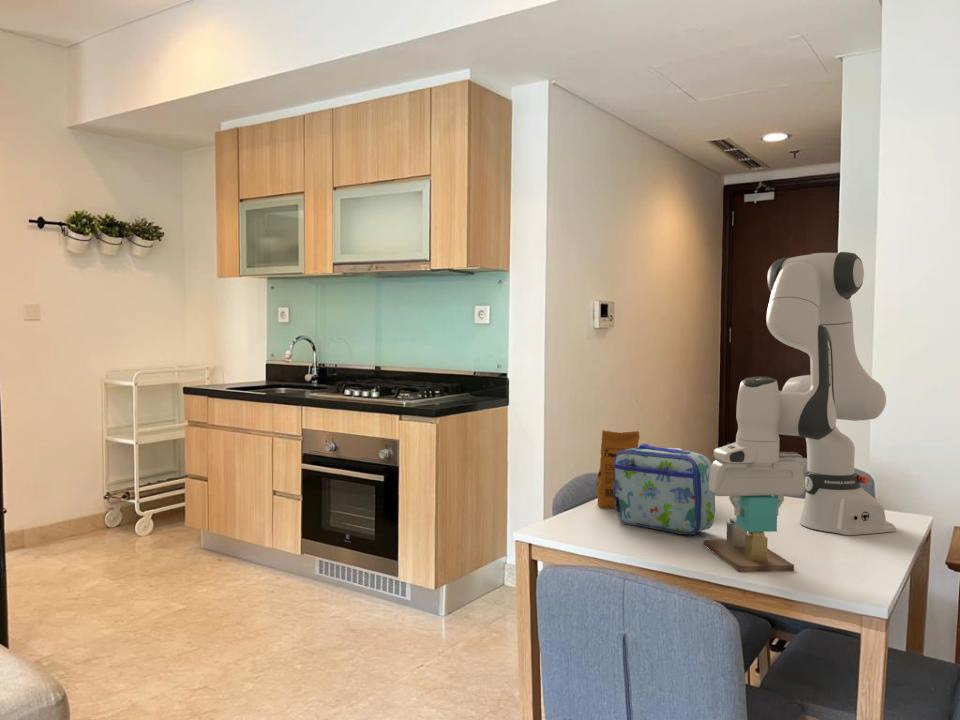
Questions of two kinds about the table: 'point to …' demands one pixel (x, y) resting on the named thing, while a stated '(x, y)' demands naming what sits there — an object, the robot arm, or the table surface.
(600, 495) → the coffee package
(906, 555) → the table surface
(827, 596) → the table surface
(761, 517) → the matte teal cube
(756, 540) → the brass post
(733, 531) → the steel post
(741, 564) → the walnut board
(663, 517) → the lunch box
